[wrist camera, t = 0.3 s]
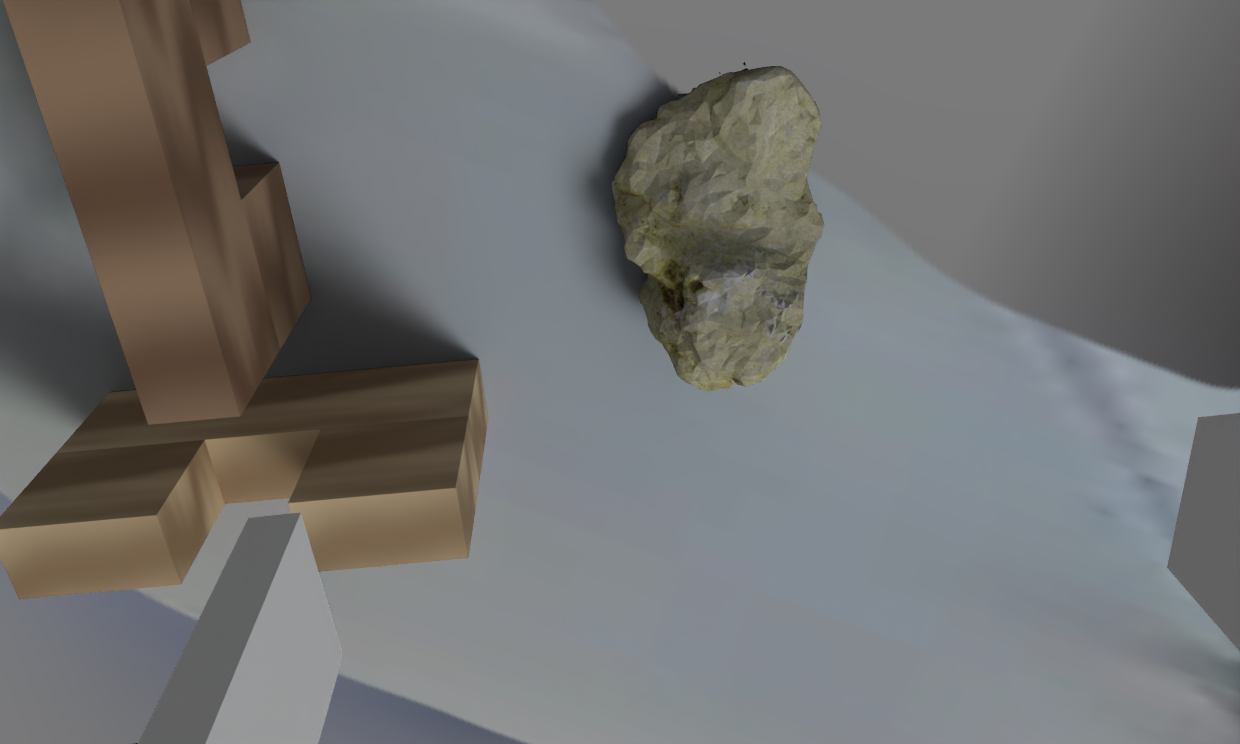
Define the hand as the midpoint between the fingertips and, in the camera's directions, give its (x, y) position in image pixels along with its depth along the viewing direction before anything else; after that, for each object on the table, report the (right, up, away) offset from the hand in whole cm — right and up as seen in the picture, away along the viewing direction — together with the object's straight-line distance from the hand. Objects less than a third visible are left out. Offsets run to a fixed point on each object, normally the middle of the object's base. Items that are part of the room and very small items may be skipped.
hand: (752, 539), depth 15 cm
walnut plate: (-17, +12, +22) cm, 31 cm away
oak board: (-16, +1, +28) cm, 33 cm away
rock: (+2, +9, +26) cm, 27 cm away
